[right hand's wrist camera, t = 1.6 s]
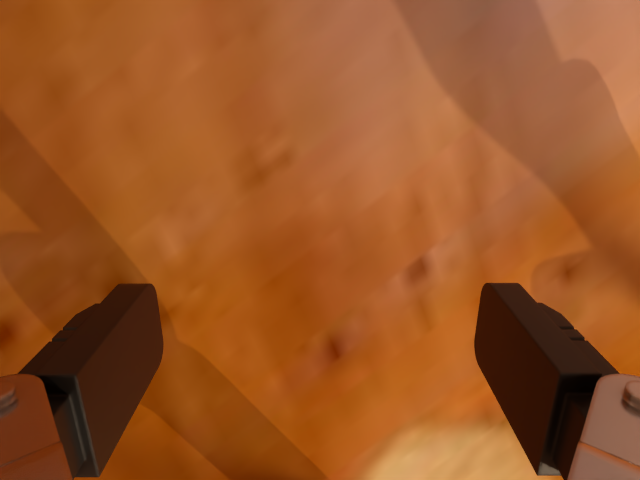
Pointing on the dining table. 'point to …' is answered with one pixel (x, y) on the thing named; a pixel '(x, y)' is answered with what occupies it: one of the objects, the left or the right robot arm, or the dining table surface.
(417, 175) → the dining table surface
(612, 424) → the right robot arm
